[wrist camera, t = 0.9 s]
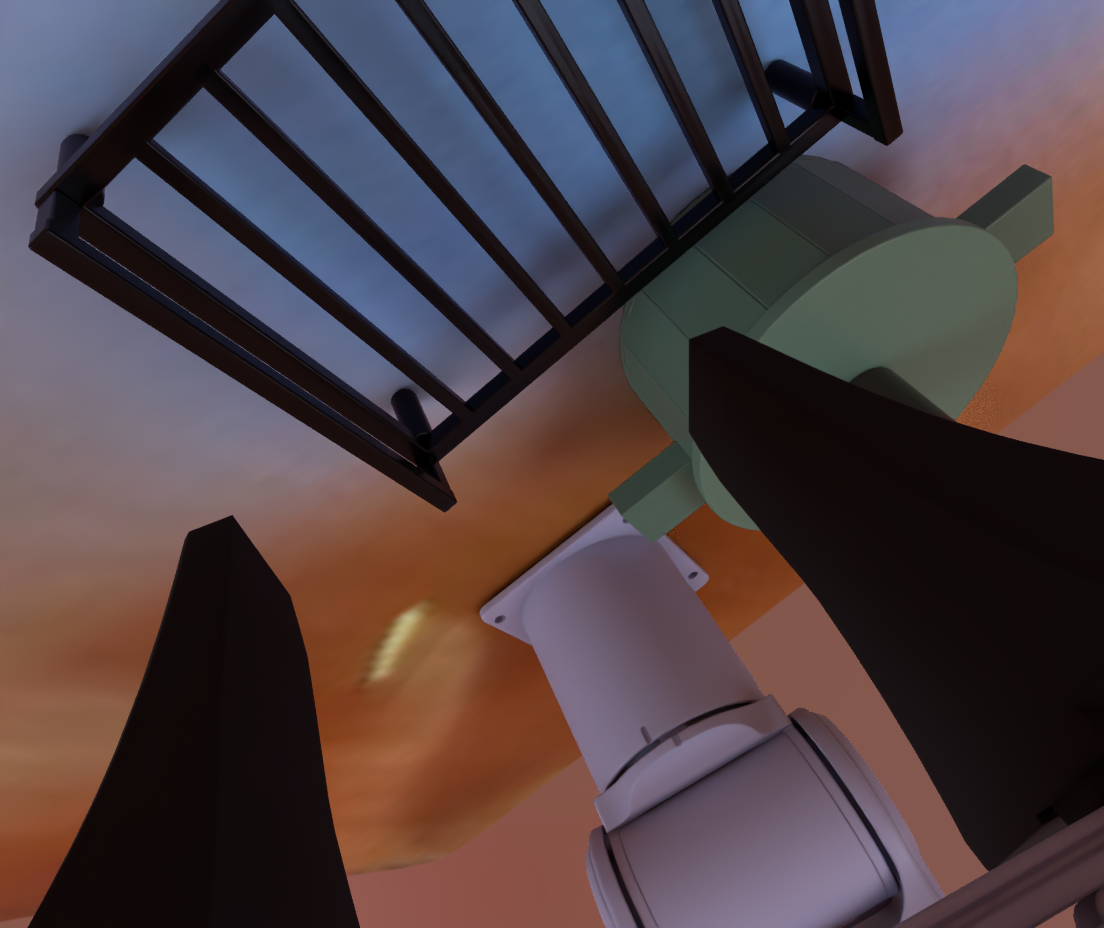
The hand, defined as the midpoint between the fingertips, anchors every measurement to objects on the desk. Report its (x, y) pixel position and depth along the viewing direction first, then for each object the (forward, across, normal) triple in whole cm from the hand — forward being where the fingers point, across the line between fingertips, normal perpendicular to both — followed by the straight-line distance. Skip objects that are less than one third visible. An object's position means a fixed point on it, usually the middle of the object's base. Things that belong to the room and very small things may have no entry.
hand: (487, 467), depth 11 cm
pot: (+10, -12, +8) cm, 17 cm away
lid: (+5, -12, +8) cm, 15 cm away
